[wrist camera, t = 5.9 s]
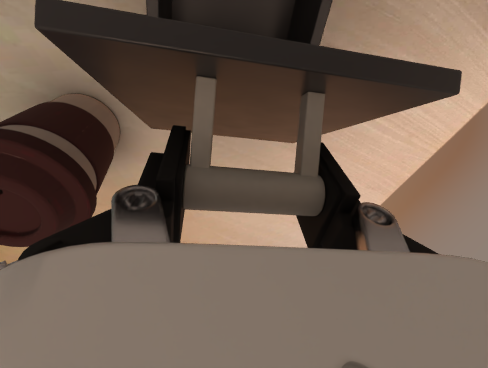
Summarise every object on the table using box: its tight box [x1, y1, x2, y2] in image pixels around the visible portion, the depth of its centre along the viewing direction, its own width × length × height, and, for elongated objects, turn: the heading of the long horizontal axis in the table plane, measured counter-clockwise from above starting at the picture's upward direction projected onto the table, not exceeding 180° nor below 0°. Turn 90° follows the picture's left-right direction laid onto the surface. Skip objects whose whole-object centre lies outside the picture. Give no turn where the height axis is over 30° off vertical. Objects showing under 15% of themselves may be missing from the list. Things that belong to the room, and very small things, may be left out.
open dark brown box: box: [146, 0, 332, 46], centre depth 22 cm, size 15×13×8 cm
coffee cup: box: [0, 94, 120, 247], centre depth 23 cm, size 10×10×15 cm
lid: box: [35, 0, 462, 216], centre depth 15 cm, size 15×13×5 cm
